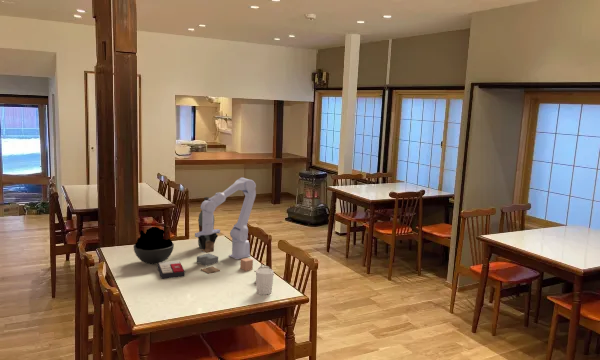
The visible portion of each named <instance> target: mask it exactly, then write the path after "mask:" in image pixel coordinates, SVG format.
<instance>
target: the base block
mask: <svg viewBox="0 0 600 360" xmlns="http://www.w3.org/2000/svg"><path fill="white" fill-rule="evenodd" d="M196 263H198V264H201V265H203V266H210V265H214V264H217V263H219V256H217V255H215V254H212V253H210V252H209V253H205V254H200V255H197V256H196Z"/></svg>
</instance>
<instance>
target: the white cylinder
mask: <svg viewBox="0 0 600 360" xmlns="http://www.w3.org/2000/svg"><path fill="white" fill-rule="evenodd" d="M255 271H256V272H255V282H256V283H255V285H256V293H257V294H259V295H261V294H262V295H263V296H266V295H267V294H268V295H270V294H272V290H273V284H274V275H273V274H274V273H275V272H274V270H273V269H271V268H270V269H269V268H260V269H256V270H255Z"/></svg>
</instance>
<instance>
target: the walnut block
mask: <svg viewBox="0 0 600 360" xmlns="http://www.w3.org/2000/svg"><path fill="white" fill-rule="evenodd" d="M214 251H215V243H214V242H212V241H206V243H205V250H204V249H201V252H203V253H205V254H208V253H209V254H210V253H212V252H214Z"/></svg>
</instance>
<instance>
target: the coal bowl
mask: <svg viewBox="0 0 600 360" xmlns="http://www.w3.org/2000/svg"><path fill="white" fill-rule="evenodd" d="M165 232H166V231H165V230H164V229H162V228H160V227H158V226H151V227H150V228H148V229H146V232H144V231H143V230H140V233H139V237H138V238H137V240H136V242H135V243H134V244H133V251H134V255H135V256H136V257H137V258H138V259H139V260H140V261H141V262H143V263H144V264H148V265H158V263H159V262H166V261H167V259H169V257H170V256H171V255H172V253H173V251H174V247H175V246H174V245H175V244H174V242H173V241H172V239H170V238H169V239H166V238H165Z"/></svg>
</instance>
